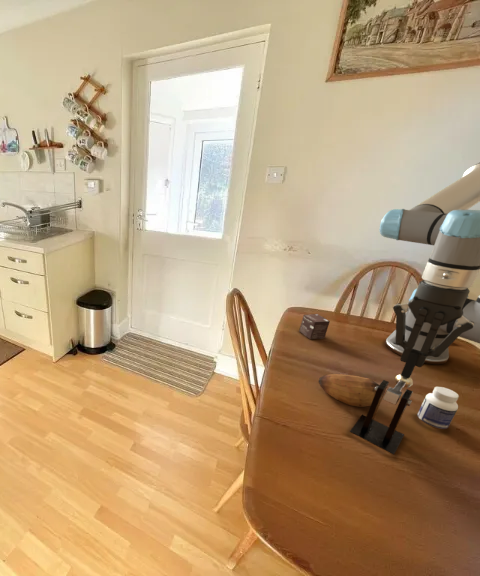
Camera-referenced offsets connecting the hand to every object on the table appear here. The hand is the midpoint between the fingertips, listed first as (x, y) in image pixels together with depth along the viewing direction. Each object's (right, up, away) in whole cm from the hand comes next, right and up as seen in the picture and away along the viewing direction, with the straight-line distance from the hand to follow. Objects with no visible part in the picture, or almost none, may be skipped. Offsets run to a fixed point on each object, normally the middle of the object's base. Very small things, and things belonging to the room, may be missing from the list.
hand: (406, 374), depth 76 cm
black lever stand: (-9, -14, -2) cm, 17 cm away
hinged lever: (-5, -4, -2) cm, 6 cm away
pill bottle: (+8, -13, +2) cm, 15 cm away
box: (+6, +3, +42) cm, 43 cm away
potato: (-8, -10, +9) cm, 16 cm away
